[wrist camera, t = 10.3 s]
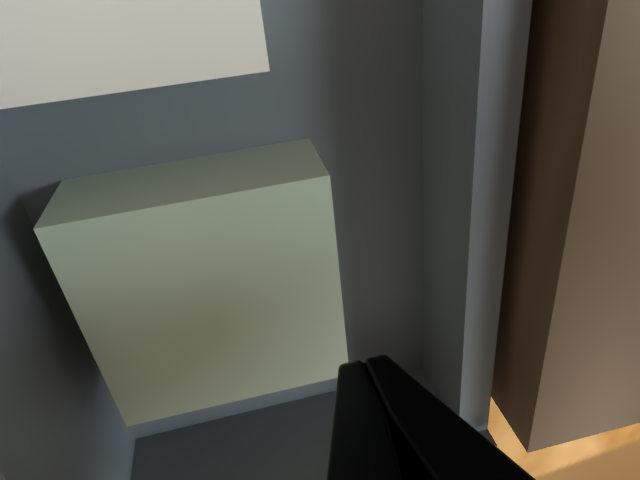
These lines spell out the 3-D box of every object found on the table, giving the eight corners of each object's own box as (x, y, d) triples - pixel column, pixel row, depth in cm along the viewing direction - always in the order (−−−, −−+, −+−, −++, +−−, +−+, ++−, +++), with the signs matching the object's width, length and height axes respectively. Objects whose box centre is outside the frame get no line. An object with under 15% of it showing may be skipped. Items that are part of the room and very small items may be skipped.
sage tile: (32, 229, 8) (61, 180, 10) (126, 427, 11) (136, 361, 12) (329, 175, 9) (309, 137, 10) (349, 374, 11) (330, 319, 13)
